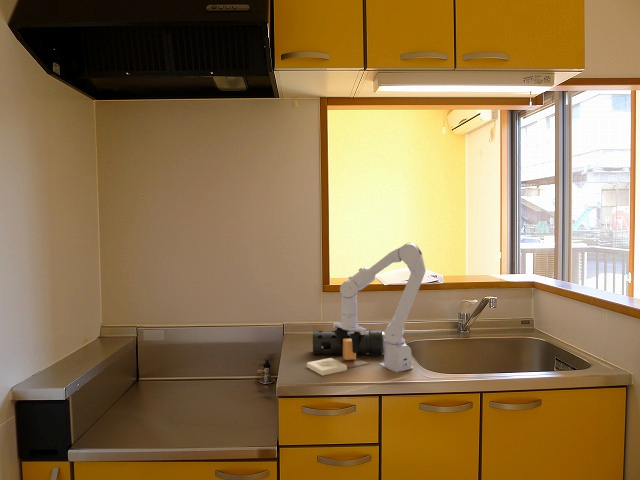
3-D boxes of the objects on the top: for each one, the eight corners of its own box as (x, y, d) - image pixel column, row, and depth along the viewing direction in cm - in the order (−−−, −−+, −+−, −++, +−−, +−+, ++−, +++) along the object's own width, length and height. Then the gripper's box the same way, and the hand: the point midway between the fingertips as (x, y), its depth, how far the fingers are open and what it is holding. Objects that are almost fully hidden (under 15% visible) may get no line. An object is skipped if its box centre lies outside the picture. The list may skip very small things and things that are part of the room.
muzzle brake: (313, 326, 180) (312, 334, 170) (384, 326, 179) (387, 333, 169) (314, 350, 181) (312, 359, 171) (384, 349, 180) (387, 358, 170)
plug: (356, 359, 163) (356, 341, 163) (345, 359, 163) (345, 341, 162) (353, 355, 167) (353, 338, 167) (342, 356, 167) (342, 338, 166)
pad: (369, 365, 162) (369, 363, 162) (348, 369, 158) (348, 367, 158) (349, 356, 173) (349, 354, 173) (330, 360, 168) (330, 358, 168)
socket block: (346, 371, 156) (346, 365, 156) (322, 376, 151) (322, 370, 151) (331, 363, 165) (331, 357, 164) (307, 368, 159) (307, 362, 159)
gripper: (372, 314, 162) (372, 352, 163) (342, 309, 172) (342, 344, 173) (359, 318, 157) (359, 356, 158) (329, 311, 167) (329, 348, 168)
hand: (349, 350), depth 165 cm, fingers closed on plug, 5 cm apart
